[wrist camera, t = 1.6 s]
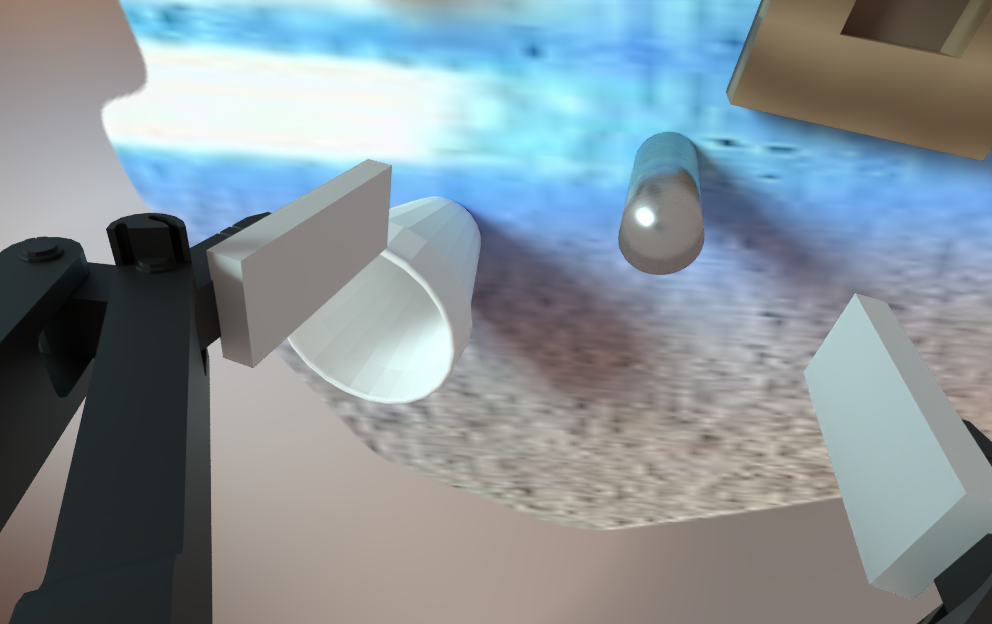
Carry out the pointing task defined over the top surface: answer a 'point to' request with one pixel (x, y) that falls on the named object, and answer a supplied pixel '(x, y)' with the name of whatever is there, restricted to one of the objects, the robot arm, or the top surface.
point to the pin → (663, 207)
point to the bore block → (875, 69)
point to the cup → (400, 308)
